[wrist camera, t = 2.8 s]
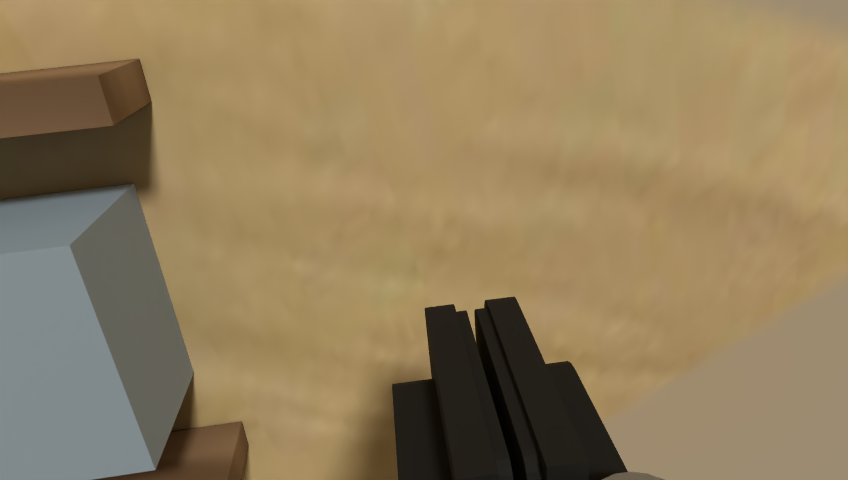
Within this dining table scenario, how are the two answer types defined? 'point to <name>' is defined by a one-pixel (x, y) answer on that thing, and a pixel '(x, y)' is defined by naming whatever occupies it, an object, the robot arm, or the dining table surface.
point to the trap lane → (98, 107)
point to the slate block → (84, 338)
